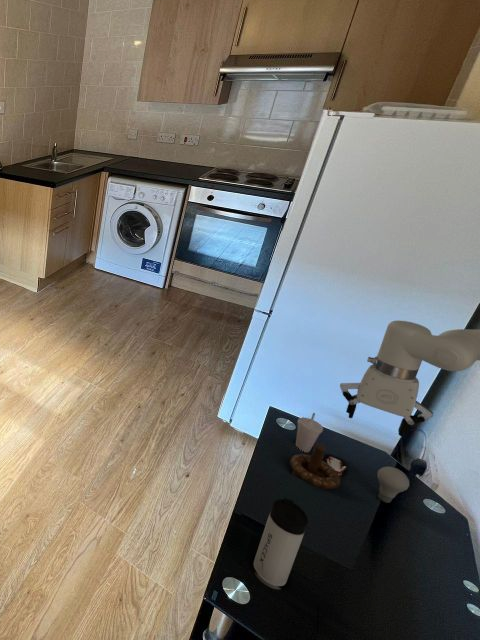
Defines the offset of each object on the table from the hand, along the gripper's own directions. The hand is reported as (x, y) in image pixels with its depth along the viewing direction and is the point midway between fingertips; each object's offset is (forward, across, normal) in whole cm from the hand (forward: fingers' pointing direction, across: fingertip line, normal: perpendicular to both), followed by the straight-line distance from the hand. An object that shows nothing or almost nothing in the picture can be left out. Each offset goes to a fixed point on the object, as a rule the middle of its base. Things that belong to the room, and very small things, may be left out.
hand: (374, 424), depth 108 cm
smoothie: (+25, -12, +15) cm, 31 cm away
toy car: (+25, -4, +11) cm, 27 cm away
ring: (+22, -8, +2) cm, 24 cm away
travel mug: (+25, -12, -42) cm, 51 cm away
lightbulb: (+25, +7, +6) cm, 27 cm away
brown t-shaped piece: (+25, -9, +2) cm, 26 cm away
